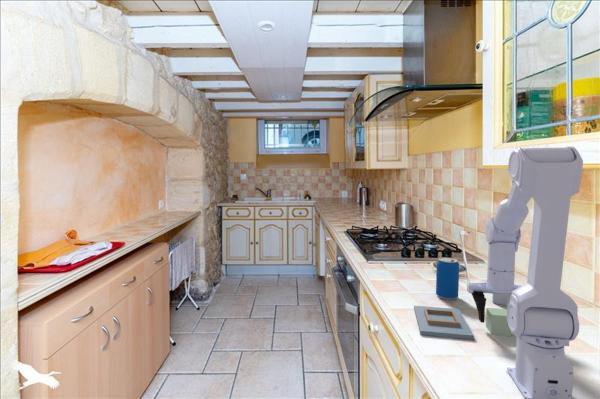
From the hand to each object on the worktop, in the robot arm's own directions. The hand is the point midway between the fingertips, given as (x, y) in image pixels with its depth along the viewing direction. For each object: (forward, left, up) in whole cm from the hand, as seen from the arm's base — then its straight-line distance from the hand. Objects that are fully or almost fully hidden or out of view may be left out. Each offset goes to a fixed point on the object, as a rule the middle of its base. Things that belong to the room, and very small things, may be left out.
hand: (498, 322), depth 85 cm
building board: (+2, +13, -2) cm, 13 cm away
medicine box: (+22, -8, -3) cm, 23 cm away
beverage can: (+22, +8, -2) cm, 23 cm away
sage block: (0, 0, -2) cm, 2 cm away
